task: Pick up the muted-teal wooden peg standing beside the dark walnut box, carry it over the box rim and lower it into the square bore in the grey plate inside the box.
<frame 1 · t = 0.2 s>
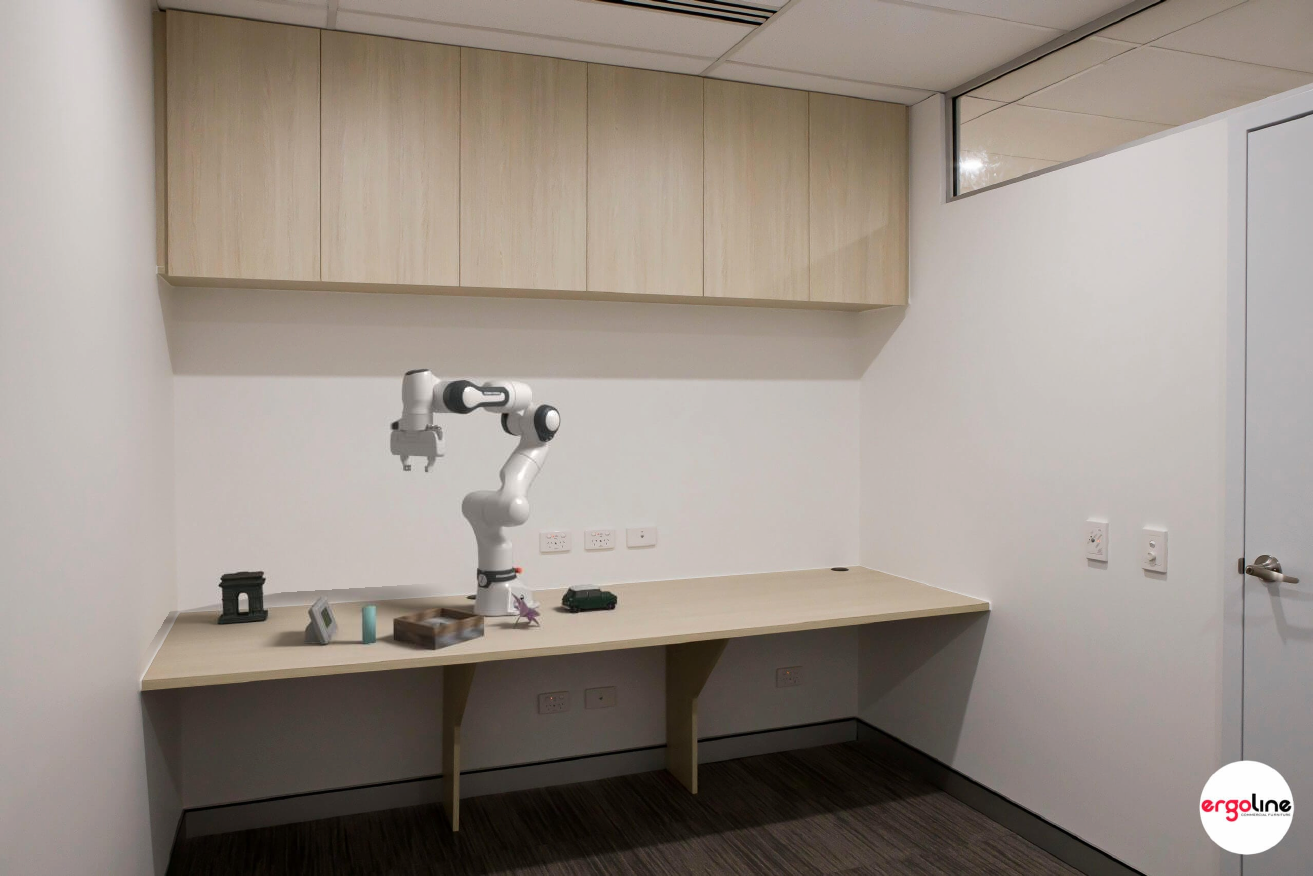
hand: (417, 471, 255), 47 cm above the table, tool pointing down, fingers open, 8 cm apart
lily: (525, 627, 263), on the table
peg: (369, 642, 245), on the table
model: (243, 620, 270), on the table
bore box: (439, 637, 250), on the table
digital clock: (323, 639, 249), on the table
miniature car: (589, 609, 286), on the table
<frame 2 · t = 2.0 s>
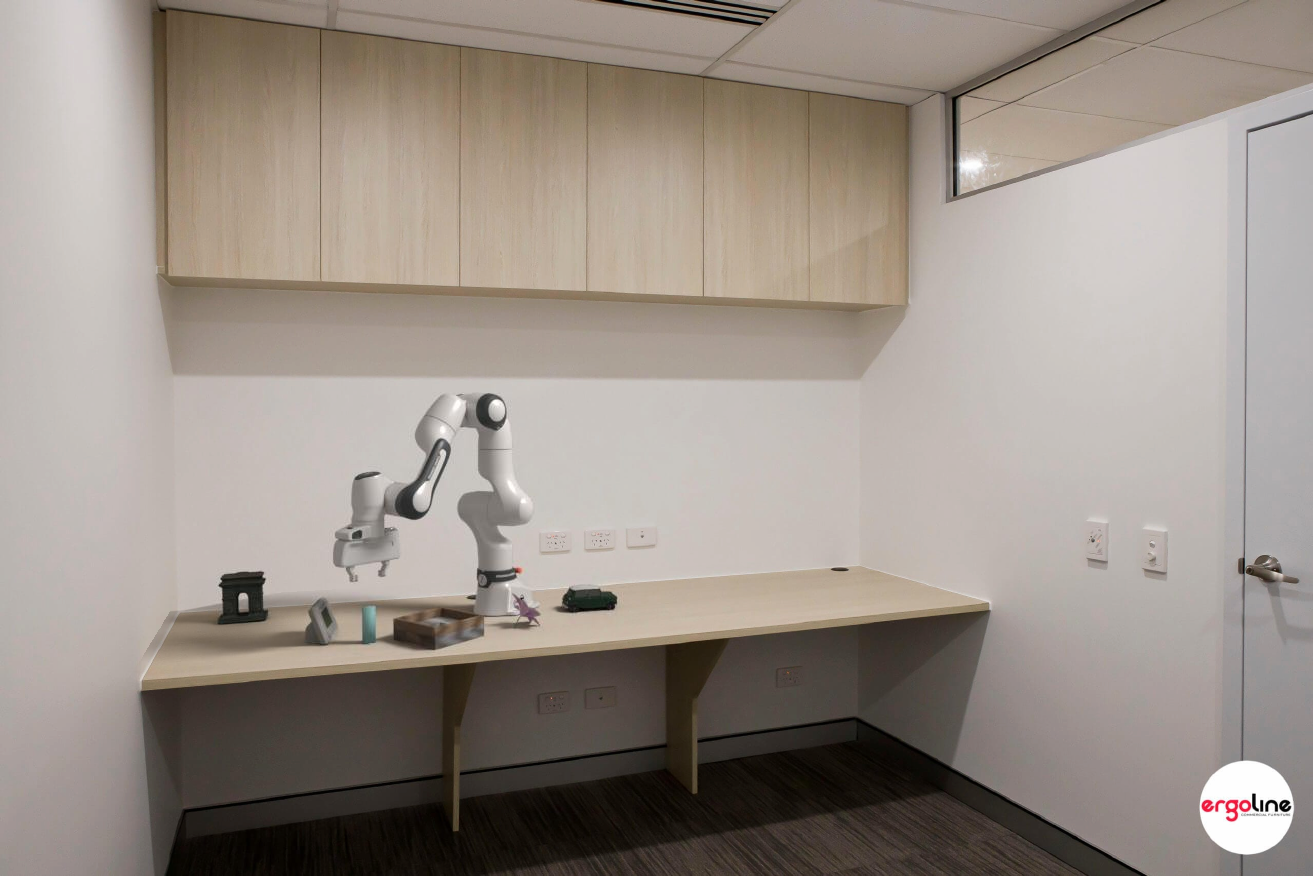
hand: (368, 579, 244), 18 cm above the table, tool pointing down, fingers open, 8 cm apart
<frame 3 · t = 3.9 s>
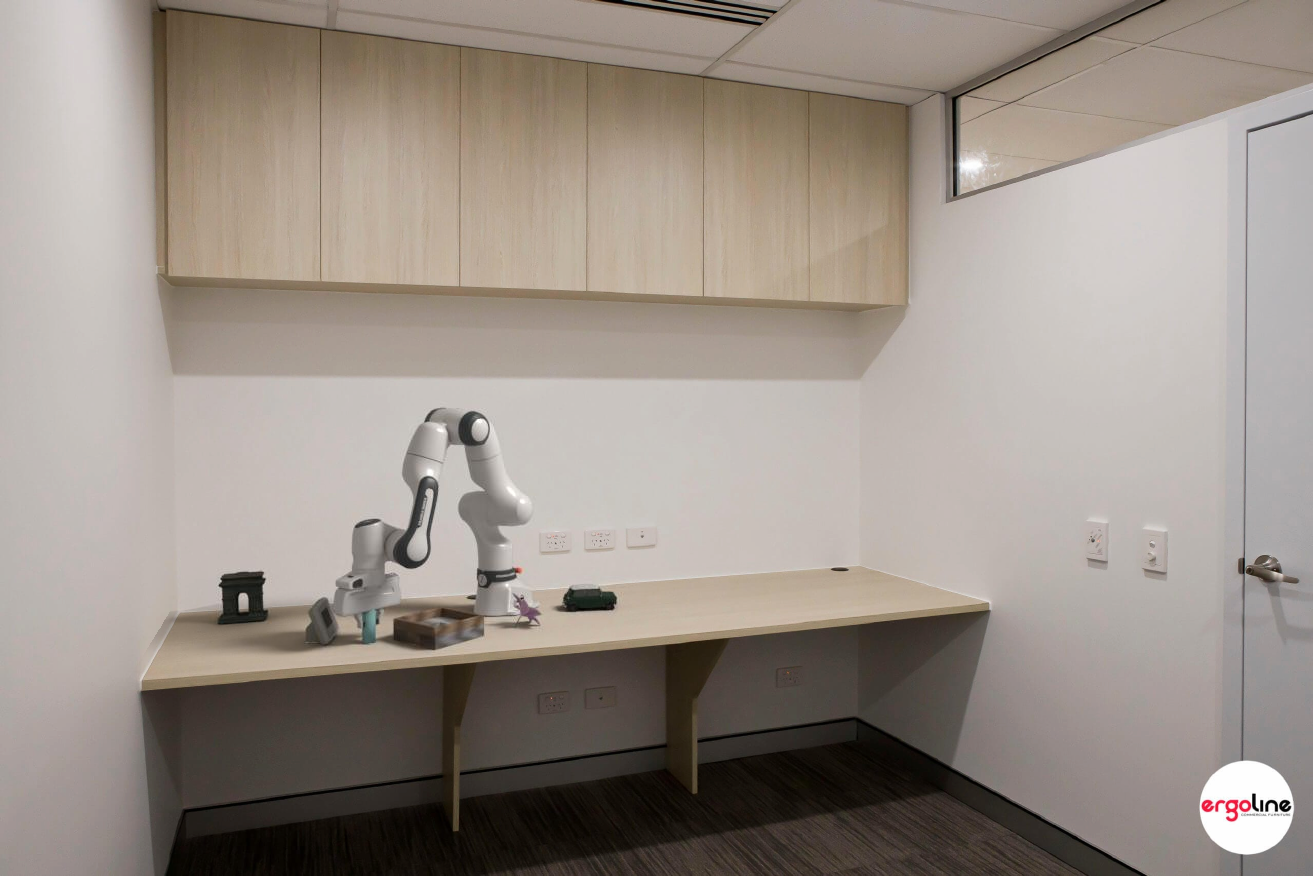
hand: (368, 626, 244), 5 cm above the table, tool pointing down, fingers closed on peg, 4 cm apart
peg: (369, 642, 245), on the table, touching gripper
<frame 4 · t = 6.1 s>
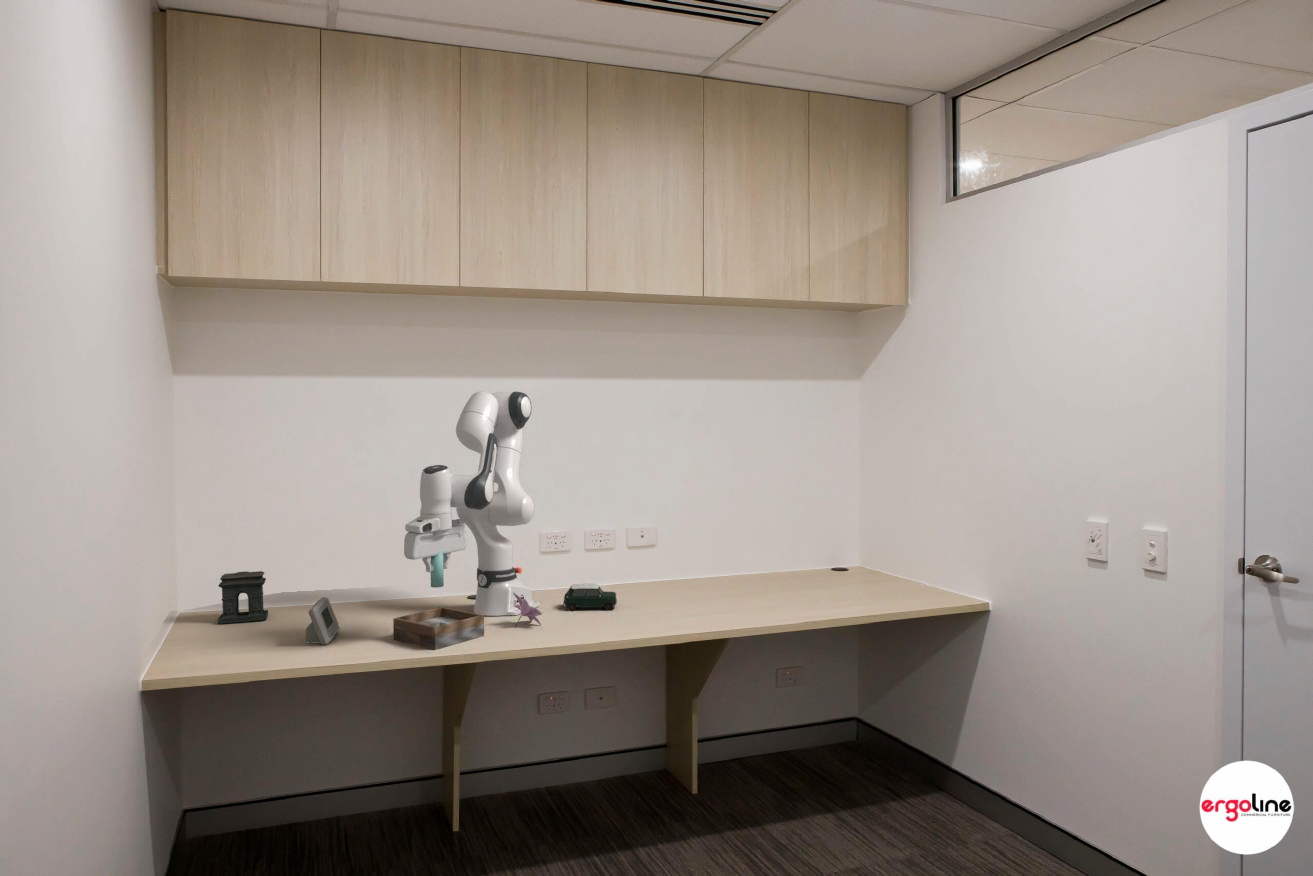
hand: (436, 570, 249), 19 cm above the table, tool pointing down, fingers closed on peg, 4 cm apart
peg: (437, 586, 250), point 15 cm above the table, touching gripper
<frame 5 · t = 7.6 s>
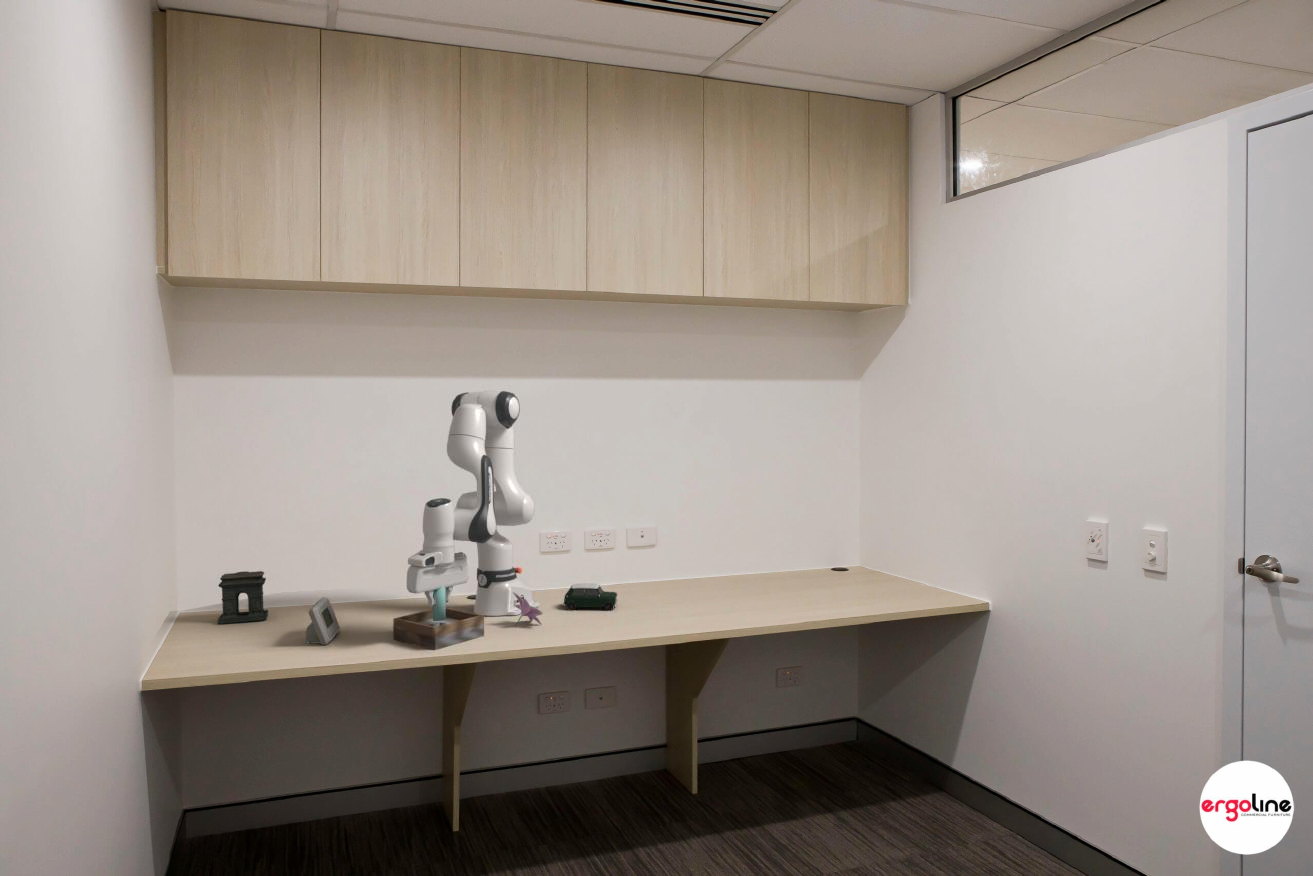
hand: (438, 603, 249), 10 cm above the table, tool pointing down, fingers closed on peg, 4 cm apart
peg: (439, 619, 250), point 5 cm above the table, touching gripper
when the fingers open (6 cm above the table, at t = 8.6 s): peg drops 2 cm, resting in bore box.
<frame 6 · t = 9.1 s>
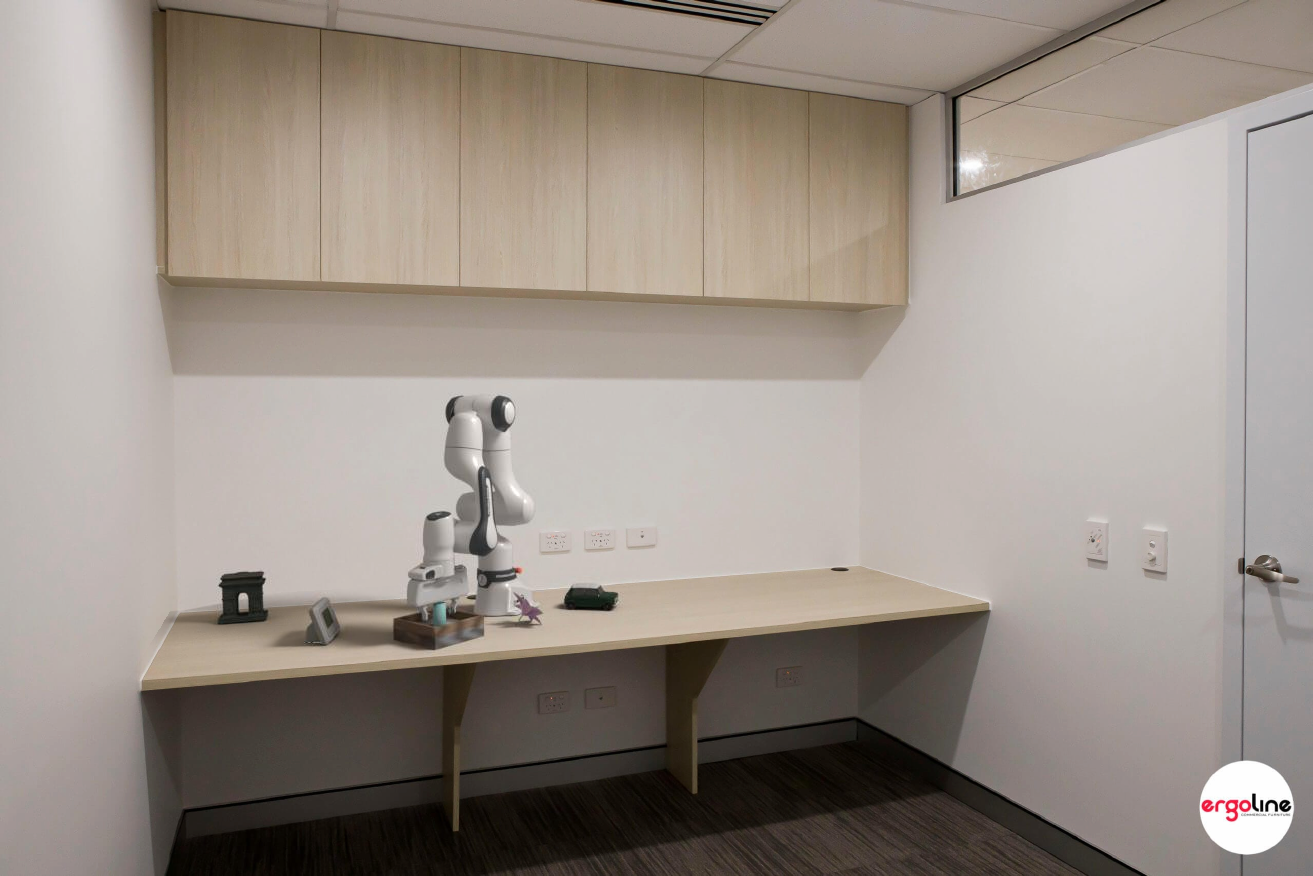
hand: (439, 616, 250), 6 cm above the table, tool pointing down, fingers open, 8 cm apart
peg: (439, 637, 250), resting in bore box
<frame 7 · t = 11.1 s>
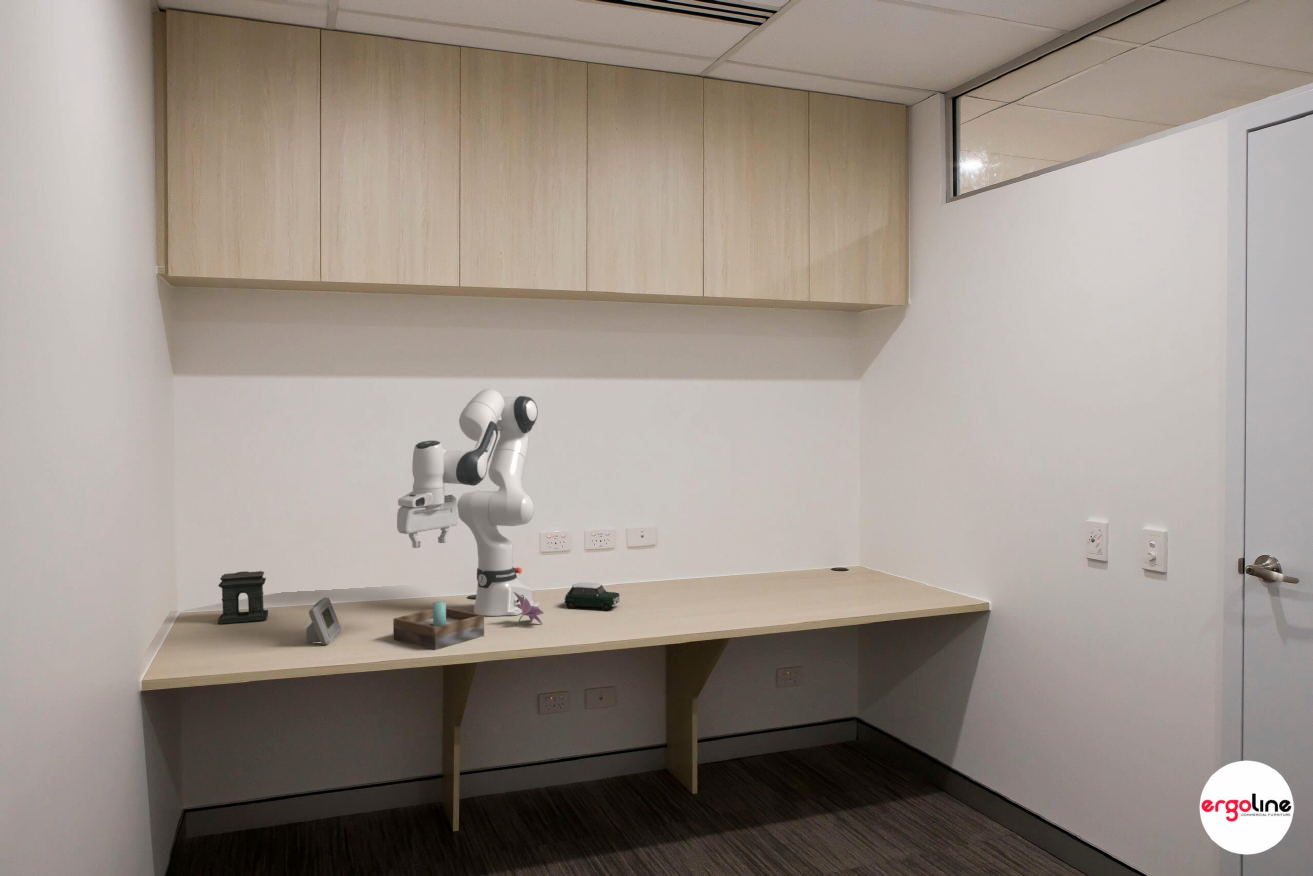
hand: (429, 545, 251), 26 cm above the table, tool pointing down, fingers open, 8 cm apart
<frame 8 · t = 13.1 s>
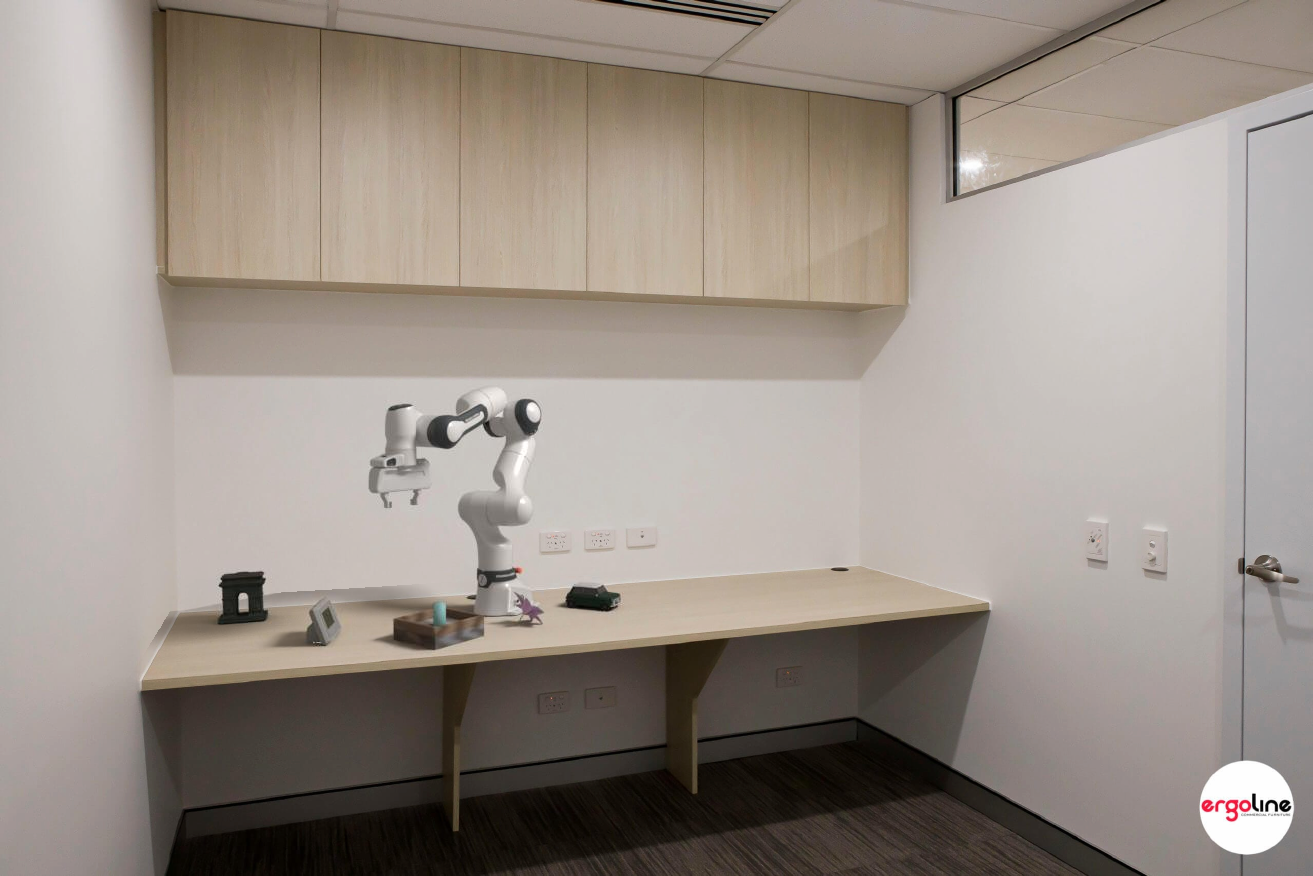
hand: (401, 506, 255), 37 cm above the table, tool pointing down, fingers open, 8 cm apart
at the end: peg 0.1 cm off-centre on the bore box, point 0.0 cm above the bore box's base; peg tilted 0°; the gripper is holding nothing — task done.
